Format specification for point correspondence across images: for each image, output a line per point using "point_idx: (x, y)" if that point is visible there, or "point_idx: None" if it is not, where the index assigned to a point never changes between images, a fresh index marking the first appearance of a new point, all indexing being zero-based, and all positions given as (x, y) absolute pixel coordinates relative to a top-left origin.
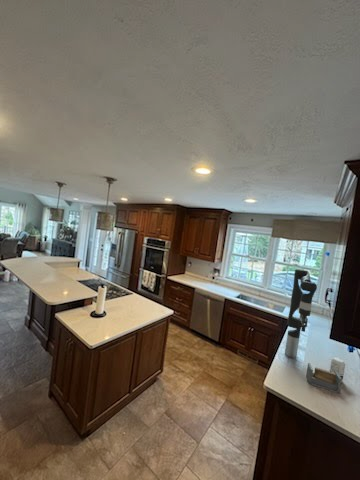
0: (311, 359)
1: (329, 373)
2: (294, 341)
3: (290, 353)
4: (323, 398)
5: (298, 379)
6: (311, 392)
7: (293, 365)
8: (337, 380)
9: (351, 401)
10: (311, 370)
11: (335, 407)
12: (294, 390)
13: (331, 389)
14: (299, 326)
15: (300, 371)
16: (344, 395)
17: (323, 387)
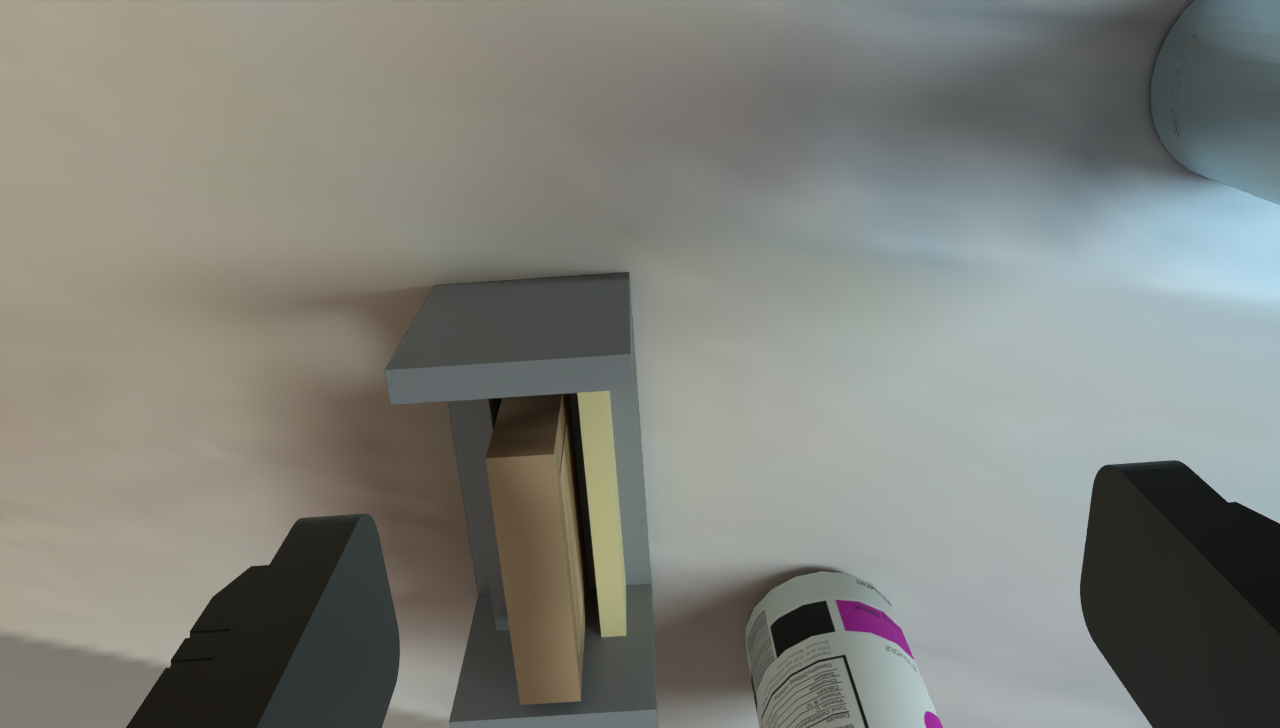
0: (1264, 415)
1: (509, 627)
2: None
3: (1197, 63)
4: (212, 419)
5: (436, 149)
6: (225, 295)
7: (857, 102)
8: (504, 675)
9: (418, 685)
10: (391, 377)
11: (137, 513)
12: (62, 63)
13: (472, 543)
14: (1107, 466)
15: (721, 202)
16: None
17: (459, 459)
